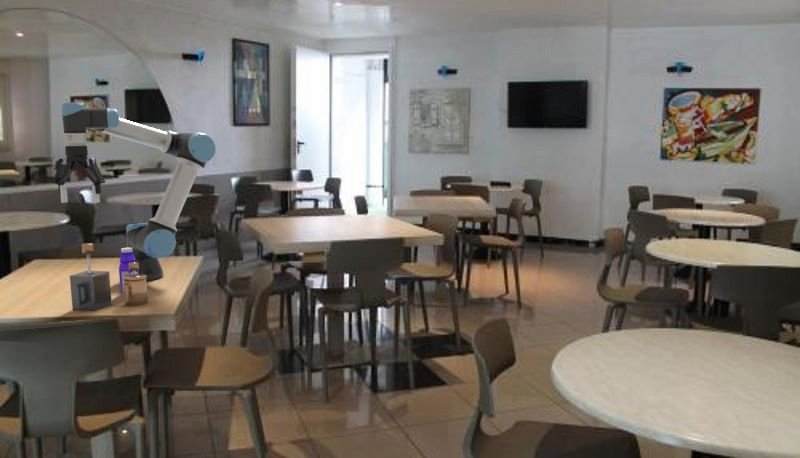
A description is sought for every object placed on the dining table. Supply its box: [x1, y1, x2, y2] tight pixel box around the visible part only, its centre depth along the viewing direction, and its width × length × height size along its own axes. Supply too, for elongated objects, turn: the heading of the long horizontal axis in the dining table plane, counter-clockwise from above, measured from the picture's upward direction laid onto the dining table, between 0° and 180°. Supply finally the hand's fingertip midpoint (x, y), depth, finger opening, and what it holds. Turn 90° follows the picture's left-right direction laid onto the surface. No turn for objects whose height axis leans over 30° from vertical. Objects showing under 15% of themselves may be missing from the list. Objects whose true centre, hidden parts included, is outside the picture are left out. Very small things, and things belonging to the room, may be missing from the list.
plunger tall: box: [81, 242, 94, 274], centre depth 245 cm, size 7×7×19 cm
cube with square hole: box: [69, 270, 113, 312], centre depth 244 cm, size 12×9×12 cm
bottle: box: [118, 247, 138, 295], centre depth 266 cm, size 7×6×17 cm
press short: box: [122, 262, 148, 307], centre depth 250 cm, size 11×8×15 cm
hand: (80, 202), depth 262 cm, fingers open, 13 cm apart
